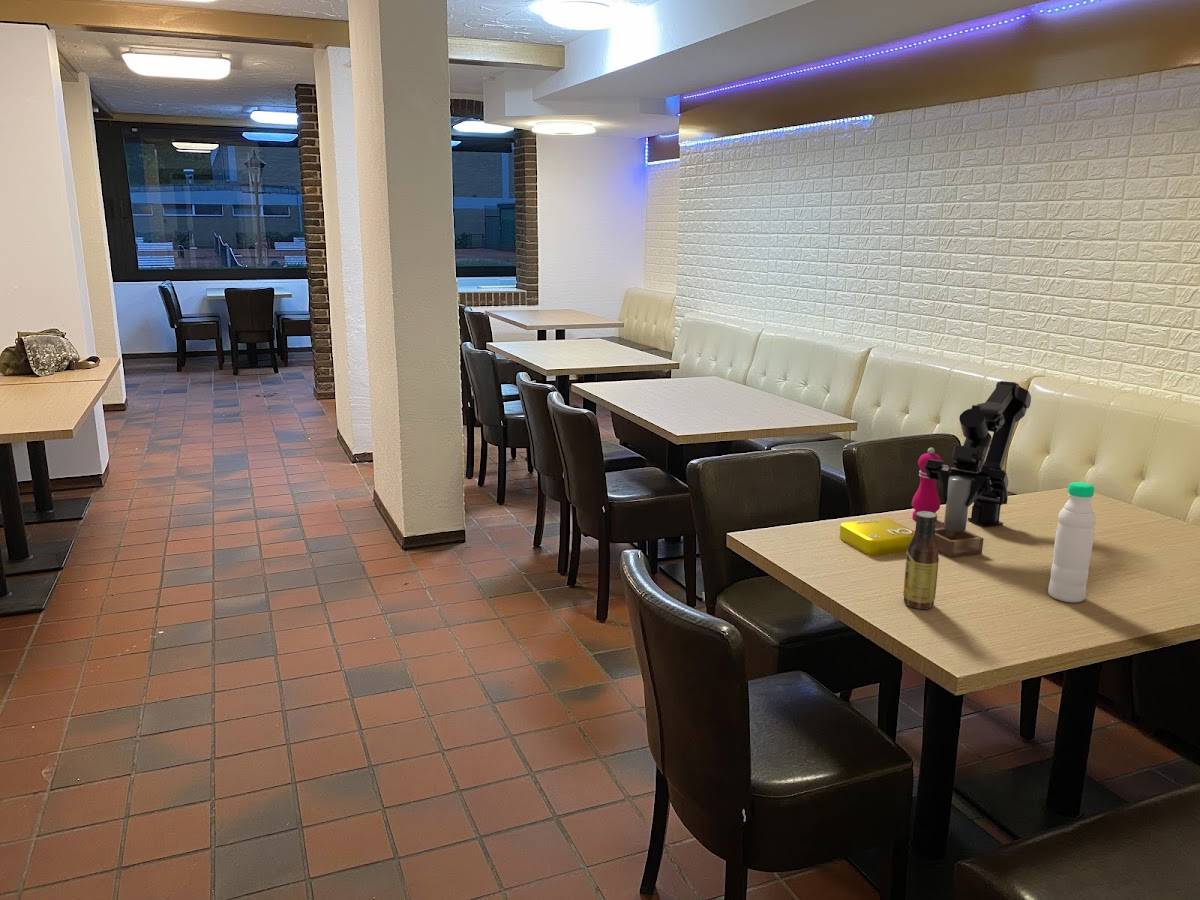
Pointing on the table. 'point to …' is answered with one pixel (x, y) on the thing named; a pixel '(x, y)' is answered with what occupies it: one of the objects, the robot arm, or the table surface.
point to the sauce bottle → (922, 563)
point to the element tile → (877, 536)
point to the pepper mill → (926, 488)
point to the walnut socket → (958, 543)
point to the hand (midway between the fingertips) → (955, 503)
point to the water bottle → (1073, 545)
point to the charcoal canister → (957, 503)
